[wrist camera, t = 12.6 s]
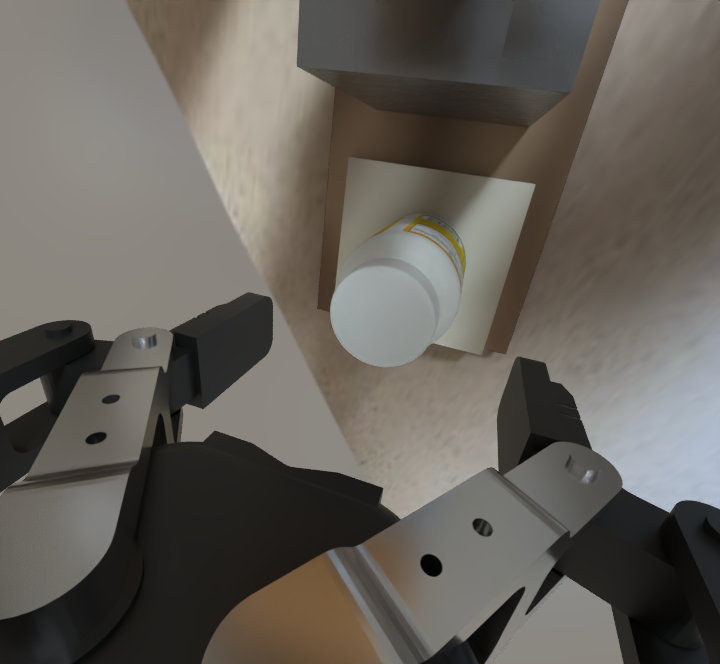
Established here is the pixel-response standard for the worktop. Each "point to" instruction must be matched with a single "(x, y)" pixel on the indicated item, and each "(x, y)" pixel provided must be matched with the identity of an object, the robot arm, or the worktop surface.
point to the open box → (448, 54)
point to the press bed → (462, 189)
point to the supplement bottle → (399, 291)
